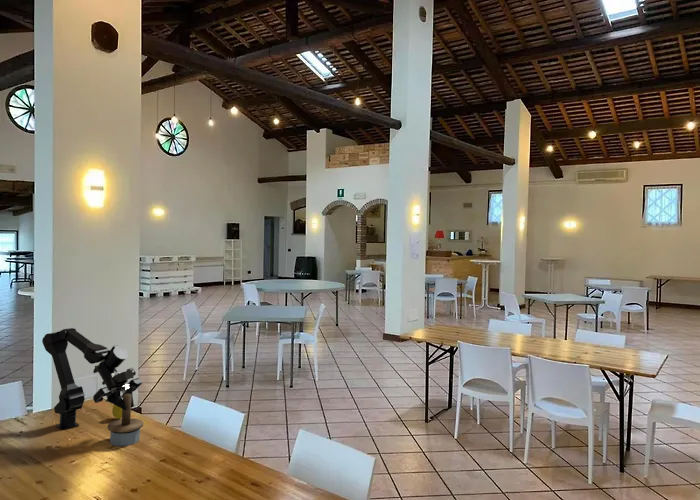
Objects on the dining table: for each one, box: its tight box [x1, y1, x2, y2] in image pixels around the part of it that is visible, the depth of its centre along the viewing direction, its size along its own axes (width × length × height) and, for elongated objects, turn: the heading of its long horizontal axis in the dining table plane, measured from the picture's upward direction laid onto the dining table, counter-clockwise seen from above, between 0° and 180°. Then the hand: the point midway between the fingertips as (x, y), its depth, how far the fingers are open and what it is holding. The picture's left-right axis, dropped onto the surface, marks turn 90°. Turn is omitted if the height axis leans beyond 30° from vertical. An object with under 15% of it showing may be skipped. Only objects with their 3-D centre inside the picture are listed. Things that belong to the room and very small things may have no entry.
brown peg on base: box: [107, 393, 144, 432], centre depth 180 cm, size 12×12×12 cm
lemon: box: [111, 404, 122, 420], centre depth 202 cm, size 6×6×8 cm
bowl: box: [109, 428, 141, 447], centre depth 180 cm, size 10×10×4 cm
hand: (129, 408), depth 180 cm, fingers closed on brown peg on base, 3 cm apart
